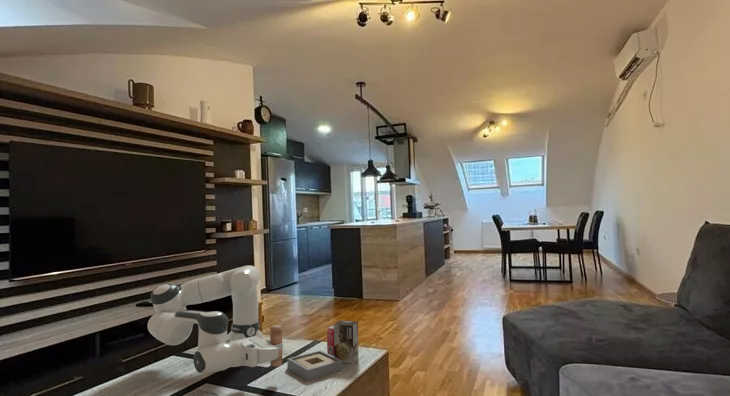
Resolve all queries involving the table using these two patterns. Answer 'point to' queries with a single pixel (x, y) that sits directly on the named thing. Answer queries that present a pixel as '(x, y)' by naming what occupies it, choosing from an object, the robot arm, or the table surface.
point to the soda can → (330, 340)
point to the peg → (274, 339)
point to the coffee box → (346, 341)
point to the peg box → (314, 365)
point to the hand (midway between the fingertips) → (278, 343)
